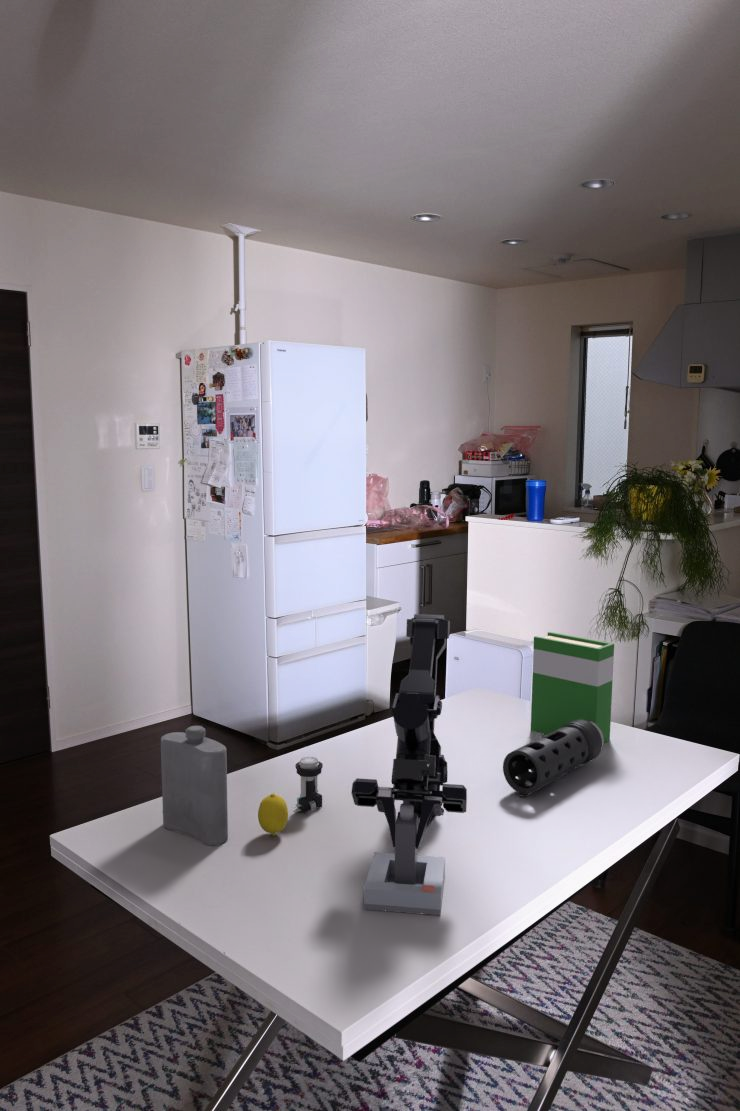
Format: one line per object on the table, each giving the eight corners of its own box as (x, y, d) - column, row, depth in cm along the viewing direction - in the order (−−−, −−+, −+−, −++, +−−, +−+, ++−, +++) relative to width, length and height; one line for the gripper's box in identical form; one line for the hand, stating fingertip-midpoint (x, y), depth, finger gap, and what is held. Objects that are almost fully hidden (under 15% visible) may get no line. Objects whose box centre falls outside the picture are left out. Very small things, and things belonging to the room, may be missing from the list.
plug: (397, 875, 144) (398, 800, 143) (416, 876, 144) (418, 801, 142) (394, 888, 140) (395, 811, 138) (414, 890, 140) (415, 813, 138)
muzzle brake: (500, 792, 182) (502, 744, 181) (567, 755, 203) (569, 712, 201) (540, 805, 176) (542, 756, 174) (605, 766, 197) (608, 722, 195)
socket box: (374, 871, 149) (374, 849, 148) (444, 876, 147) (445, 855, 147) (363, 909, 137) (364, 886, 137) (440, 915, 136) (441, 892, 135)
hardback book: (530, 730, 219) (533, 636, 216) (546, 723, 225) (549, 631, 221) (594, 748, 207) (599, 649, 204) (609, 740, 213) (614, 643, 209)
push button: (301, 818, 169) (300, 769, 167) (284, 809, 173) (284, 761, 171) (328, 809, 173) (328, 760, 172) (311, 800, 177) (311, 753, 176)
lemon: (275, 844, 158) (275, 802, 157) (252, 836, 161) (251, 795, 160) (294, 832, 163) (294, 791, 162) (270, 825, 166) (270, 785, 165)
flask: (236, 836, 161) (235, 732, 158) (213, 849, 157) (211, 741, 154) (181, 815, 170) (178, 716, 167) (157, 826, 165) (154, 724, 162)
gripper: (353, 731, 144) (341, 825, 135) (467, 738, 141) (463, 834, 132) (360, 759, 153) (350, 849, 144) (468, 766, 150) (464, 857, 141)
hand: (405, 847), depth 140 cm, fingers open, 3 cm apart
